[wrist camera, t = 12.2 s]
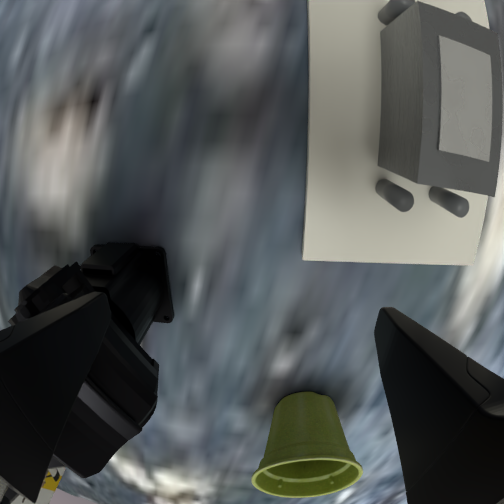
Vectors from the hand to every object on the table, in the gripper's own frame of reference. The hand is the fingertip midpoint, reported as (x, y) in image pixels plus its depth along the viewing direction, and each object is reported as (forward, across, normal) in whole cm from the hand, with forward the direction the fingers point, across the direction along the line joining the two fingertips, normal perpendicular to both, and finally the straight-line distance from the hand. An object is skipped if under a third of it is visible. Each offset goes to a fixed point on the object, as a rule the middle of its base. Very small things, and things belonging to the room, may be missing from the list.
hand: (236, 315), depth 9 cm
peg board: (+12, -10, -8) cm, 18 cm away
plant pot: (+12, -5, +20) cm, 24 cm away
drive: (+11, -10, -8) cm, 17 cm away
